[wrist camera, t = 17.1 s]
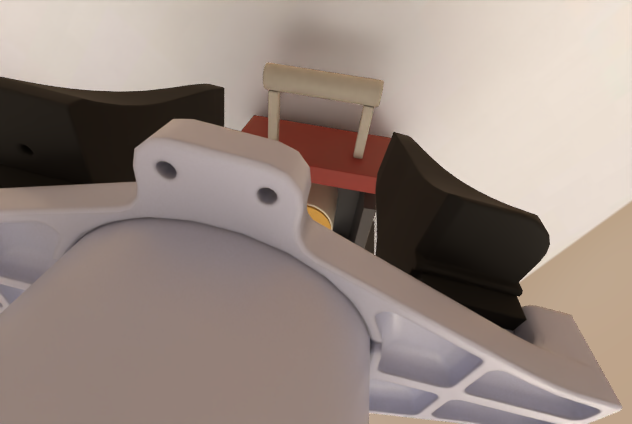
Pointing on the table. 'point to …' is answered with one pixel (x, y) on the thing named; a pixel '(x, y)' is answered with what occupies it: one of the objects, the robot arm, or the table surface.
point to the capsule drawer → (330, 141)
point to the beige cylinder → (322, 204)
